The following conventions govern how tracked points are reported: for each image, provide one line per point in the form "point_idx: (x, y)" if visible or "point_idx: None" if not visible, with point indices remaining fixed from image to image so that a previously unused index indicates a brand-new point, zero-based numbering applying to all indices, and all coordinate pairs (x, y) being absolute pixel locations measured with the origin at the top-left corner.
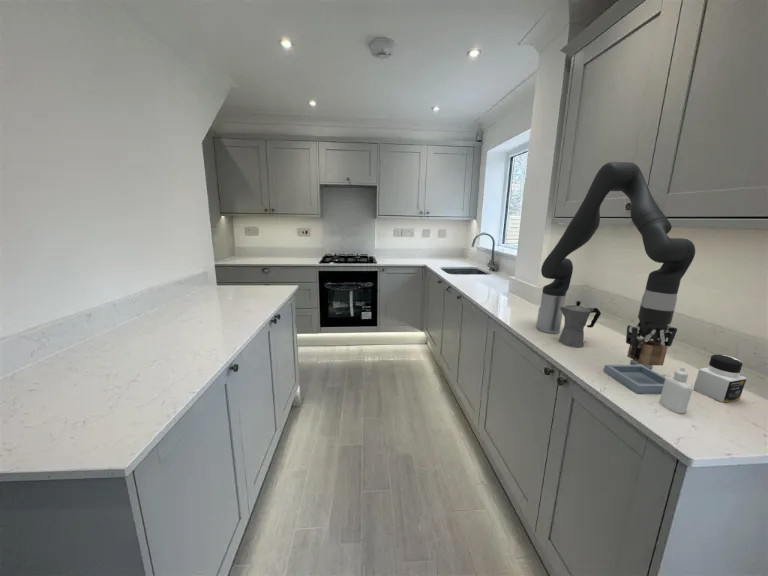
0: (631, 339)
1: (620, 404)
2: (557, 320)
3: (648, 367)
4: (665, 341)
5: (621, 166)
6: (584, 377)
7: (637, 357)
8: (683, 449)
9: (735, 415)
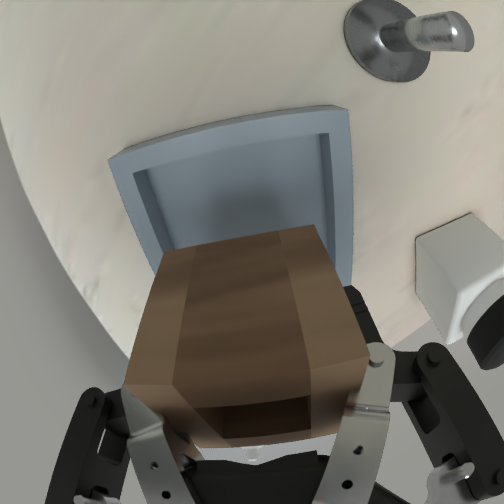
0: (127, 382)
1: (120, 342)
2: None
3: (396, 80)
4: (422, 394)
5: None
6: (49, 226)
7: None
8: None
9: (380, 332)
